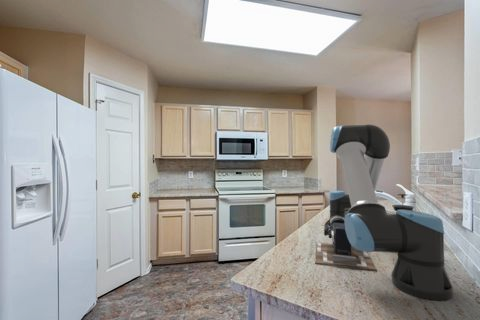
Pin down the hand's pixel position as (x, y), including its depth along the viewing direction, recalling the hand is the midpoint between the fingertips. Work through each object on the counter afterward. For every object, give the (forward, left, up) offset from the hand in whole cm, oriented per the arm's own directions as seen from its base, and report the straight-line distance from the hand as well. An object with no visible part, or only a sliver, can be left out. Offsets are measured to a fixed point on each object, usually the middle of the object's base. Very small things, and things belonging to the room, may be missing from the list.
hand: (342, 239), depth 95 cm
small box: (+5, 0, -6) cm, 8 cm away
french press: (+35, -31, -8) cm, 47 cm away
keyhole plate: (+5, 0, -8) cm, 10 cm away
